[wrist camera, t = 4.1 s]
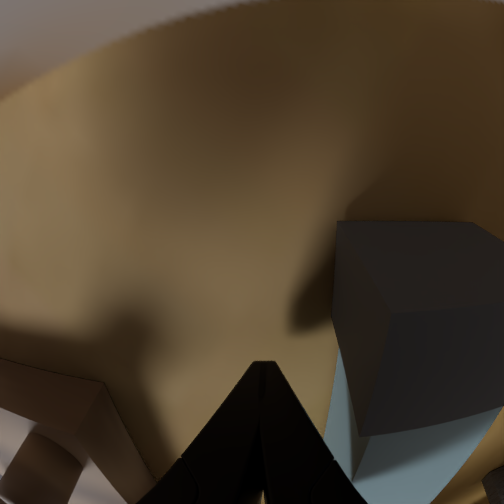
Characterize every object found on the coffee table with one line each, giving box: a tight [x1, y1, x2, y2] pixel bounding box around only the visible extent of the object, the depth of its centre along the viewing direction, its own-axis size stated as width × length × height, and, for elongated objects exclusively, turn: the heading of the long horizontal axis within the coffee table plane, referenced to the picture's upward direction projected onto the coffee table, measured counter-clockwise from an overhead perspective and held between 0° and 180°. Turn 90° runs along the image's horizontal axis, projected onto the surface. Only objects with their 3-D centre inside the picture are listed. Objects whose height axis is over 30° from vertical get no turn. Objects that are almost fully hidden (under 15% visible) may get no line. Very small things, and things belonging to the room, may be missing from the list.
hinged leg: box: [323, 221, 504, 504], centre depth 7 cm, size 12×4×4 cm, turn 3°
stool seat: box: [0, 358, 157, 504], centre depth 10 cm, size 12×12×6 cm
